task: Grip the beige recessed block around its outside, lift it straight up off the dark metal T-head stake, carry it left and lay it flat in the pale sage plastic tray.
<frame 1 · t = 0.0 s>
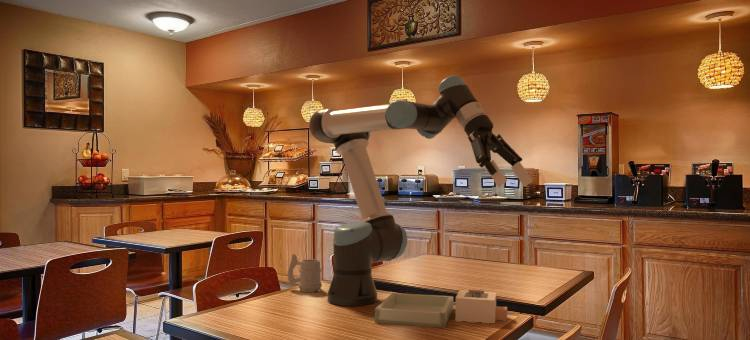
hand: (515, 184, 137), 36 cm above the table, tool tilted 35°, fingers open, 13 cm apart
tray: (416, 315, 143), on the table
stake: (476, 317, 140), on the table
beige recessed block: (476, 317, 140), on the table
mug: (304, 290, 175), on the table
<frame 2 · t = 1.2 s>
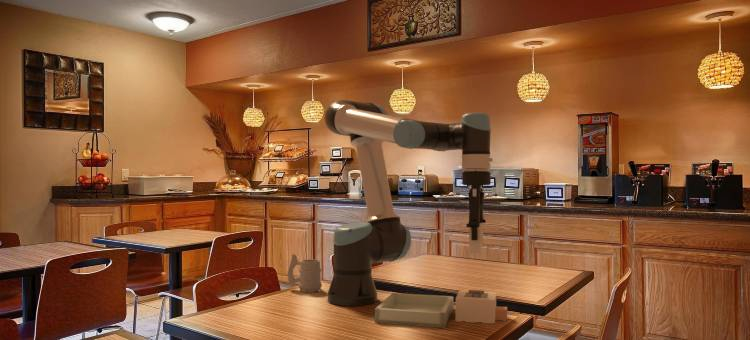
hand: (476, 249, 141), 18 cm above the table, tool pointing down, fingers open, 13 cm apart
nothing on the table moved.
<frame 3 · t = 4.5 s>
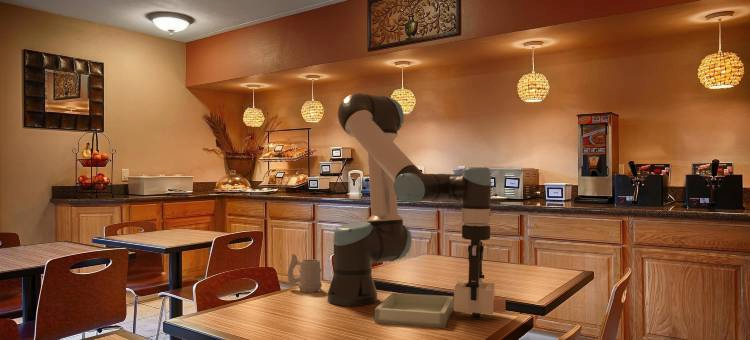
hand: (475, 307, 141), 3 cm above the table, tool pointing down, fingers closed on beige recessed block, 10 cm apart
beige recessed block: (474, 307, 141), point 2 cm above the table, touching gripper
everything else where it was.
when the fingers open (2 cm above the table, at t = 10.9 s): beige recessed block stays where it is, resting on tray.
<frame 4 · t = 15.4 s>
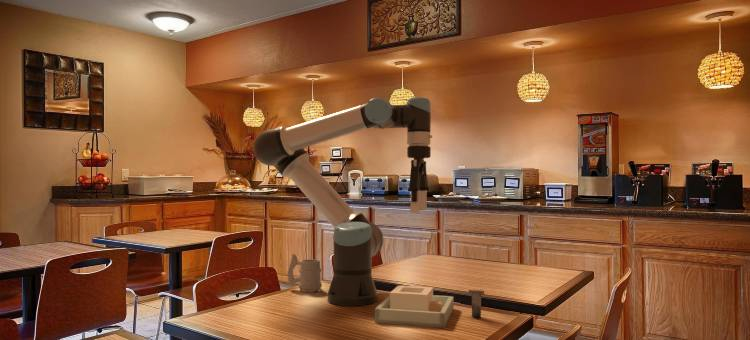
hand: (418, 211, 169), 27 cm above the table, tool pointing down, fingers open, 13 cm apart
beige recessed block: (412, 312, 143), point 1 cm above the table, touching tray
everything else where it was.
at the end: beige recessed block inside the target area on the tray (1.2 cm from its centre), point 0.8 cm above the tray's base; beige recessed block tilted 0°; the gripper is holding nothing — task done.
